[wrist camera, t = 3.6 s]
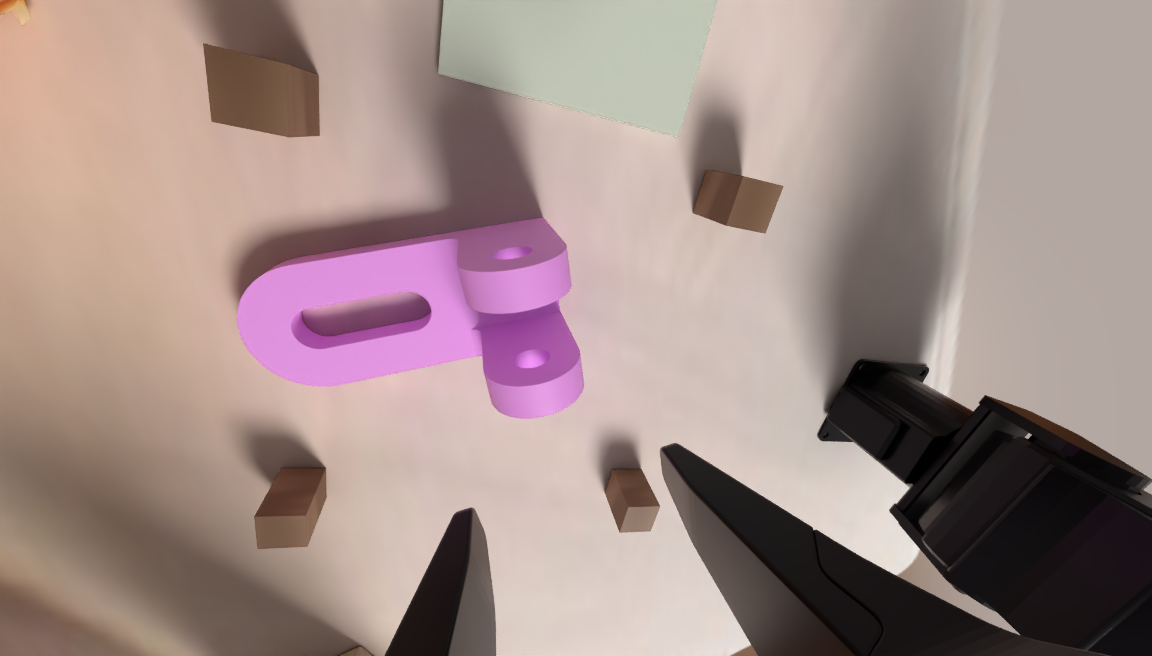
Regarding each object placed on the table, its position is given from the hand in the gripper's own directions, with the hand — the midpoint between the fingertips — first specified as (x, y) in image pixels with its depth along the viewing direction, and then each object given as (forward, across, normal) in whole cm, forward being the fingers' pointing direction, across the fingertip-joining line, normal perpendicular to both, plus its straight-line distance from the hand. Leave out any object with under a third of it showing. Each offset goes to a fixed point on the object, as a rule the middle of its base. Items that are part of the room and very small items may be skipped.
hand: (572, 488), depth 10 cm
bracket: (+12, +5, -1) cm, 13 cm away
